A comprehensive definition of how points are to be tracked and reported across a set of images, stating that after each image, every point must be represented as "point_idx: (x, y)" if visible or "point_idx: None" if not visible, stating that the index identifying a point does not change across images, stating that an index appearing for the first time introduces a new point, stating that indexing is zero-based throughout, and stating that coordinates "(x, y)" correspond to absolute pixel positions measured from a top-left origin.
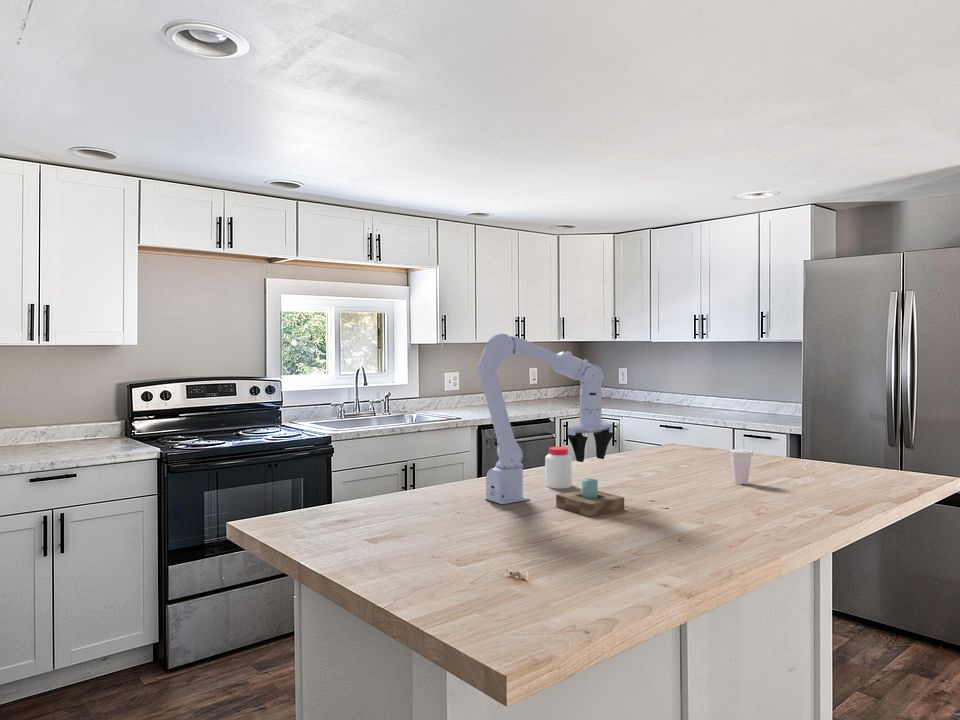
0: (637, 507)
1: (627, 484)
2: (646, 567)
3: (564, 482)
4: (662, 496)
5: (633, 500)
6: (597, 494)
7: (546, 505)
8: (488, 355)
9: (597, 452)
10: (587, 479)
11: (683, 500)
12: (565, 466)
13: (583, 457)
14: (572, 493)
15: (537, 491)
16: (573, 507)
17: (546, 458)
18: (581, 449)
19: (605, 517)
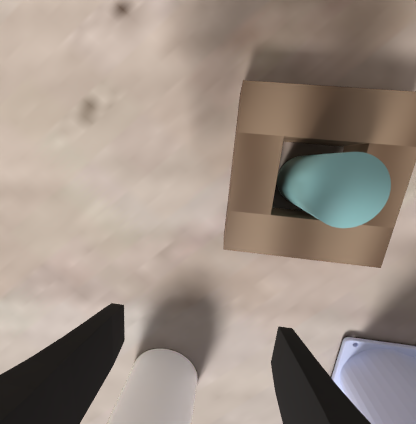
0: (187, 84)
1: (11, 276)
2: None
3: (171, 365)
4: (23, 125)
5: (129, 151)
6: (305, 159)
7: (362, 275)
8: None
9: (104, 369)
10: (338, 210)
11: (2, 44)
12: (153, 418)
13: (295, 346)
14: (325, 245)
15: (251, 373)
16: None
17: None
18: (364, 418)
19: (371, 64)
